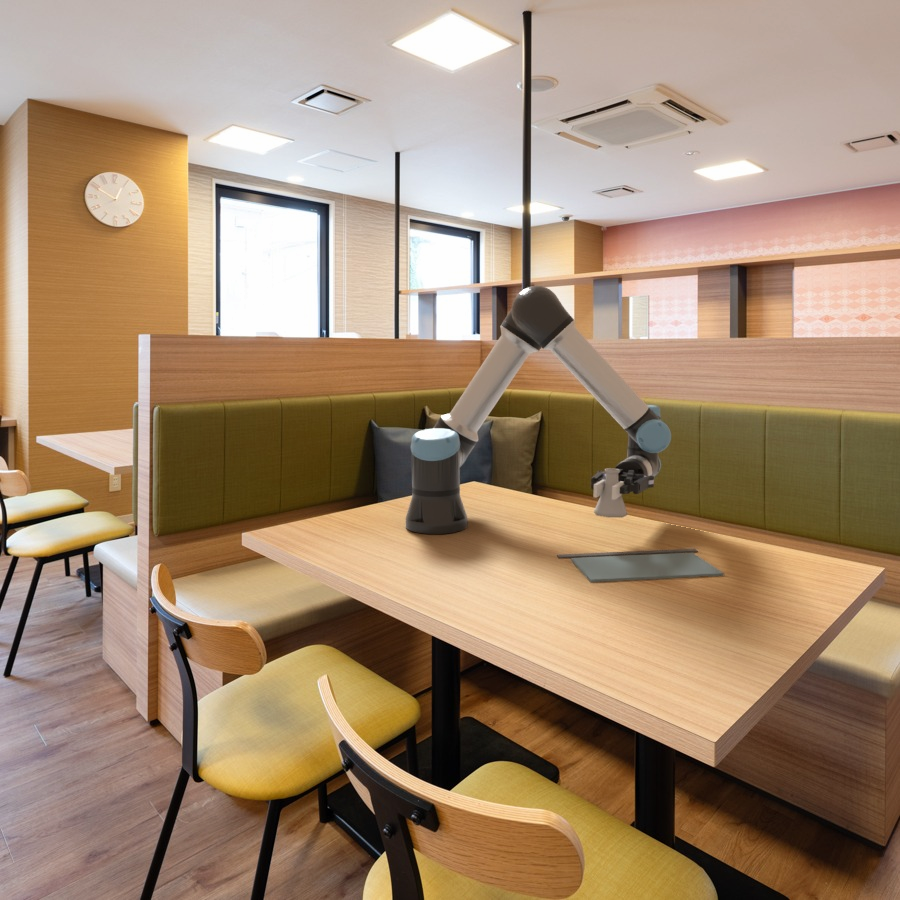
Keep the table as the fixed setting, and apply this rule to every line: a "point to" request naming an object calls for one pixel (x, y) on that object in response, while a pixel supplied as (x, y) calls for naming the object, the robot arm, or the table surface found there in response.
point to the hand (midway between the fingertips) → (604, 492)
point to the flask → (610, 498)
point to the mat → (644, 567)
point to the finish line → (626, 553)
